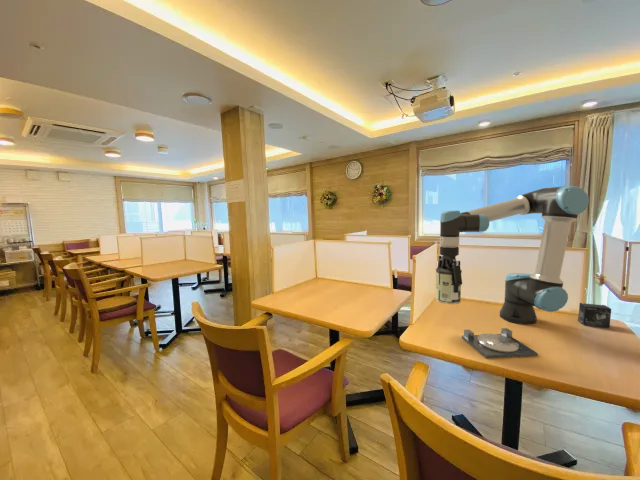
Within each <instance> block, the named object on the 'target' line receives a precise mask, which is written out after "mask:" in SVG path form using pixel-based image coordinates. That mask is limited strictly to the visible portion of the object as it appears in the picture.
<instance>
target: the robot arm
mask: <svg viewBox="0 0 640 480" xmlns="http://www.w3.org/2000/svg"><path fill="white" fill-rule="evenodd" d="M589 202H590V200H589V195H588V193H587V192H586V191H585V190H584V189H583V187H582V188H581V187H580V186H575V185H562V186H555V187H544V188H540V189H537V190H533V191H530V192H527V193H524V194H519V195H517V196H516V197H514V198H513V199H510V200H506V201H502V202H498V203H494V204H490V205H486V206H483V207H478V208H475V209H474V208H473V209H470V210H468V211H464V212H461V211H459V210H442V211H441V213H440V221H439V222H440V223H439V224H440V228H439V229H440V231H439V232H440V234H439V235H440V236H439V237H440V238H439V245H440V246H439V256H438V261H437V268H442V269H448V270H449V271H450V272H454V275H452V284H451V300H458V288H459V285H461V286H462V285H463V279H462V272H461V270H462V269H461V261H460V260H457V256H459V254H460V247H459V246H460V233H481V232H485V231H487V230H488V229H489V227H490V222H493V221H498V220H501V219H505V218H508V217H509V218H510V217H513V216H516V215H521V216H524V215H525V216H526V215H530V214H541V218H542V219H543V220H544V225H543V230H542V235H541V240H540V243H539V244H540V245H539V250H538V254H537V260H536V265H535V271H534V273H533V274H532V273H521V272H520V273H519V272H517V273H516V272H513V273H512V272H511V273H507V274H506V276H505V280H504V282H505V284H504V287H505V289H504V302H503V304H502V306H501V309H500V310H499V318H501V319H503V320H504V321H507V322H510V323H514V324H520V325H536V324H537V321H538V317H537V313H536V311H535V308H536V309H538V310H542V311H545V312H550V313H551V312H557V311H559V310H560V309H562V308H564V307H565V306H566V304H567V303H568V300H569V295H568V292H567V291H566V289H564V288H563V287H564V281H563V280H562V279H561V274H562V269H563V268H562V267H563V265H564V258H565V254H566V249H567V245H568V240H569V235H570V231H571V225H572V223H574V222H575V221H577V220H578V216H579V215H580V214H582V213H583V212H584V211H586V210H587V209H588V206H589Z"/></svg>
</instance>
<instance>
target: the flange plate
mask: <svg viewBox="0 0 640 480" xmlns="http://www.w3.org/2000/svg"><path fill="white" fill-rule="evenodd" d="M500 331H501V332H500V333H487V332H486V333H482V334H480V333H479V334H475V333H474V332H473V331H472V330H470V329H464V330H463V335H461V339H462V340H464V341H465V342H466V343H467V344H468V345H469V346H470V347H472V348H473V349H474V350H476V351H477V352H478V353H479V354H480V355H482V357H484V358H485V359H499V358H502V359H505V358H523V357H525V358H526V357H538V354H539V353H538V352H537V351H535V350H534V349H532V348H530V347H529V346H527V345H526V344H524V343H522V342H521V341H519V340H517V338H514V337H513V330H511V329H509V328H508V327H504V328H501V330H500Z"/></svg>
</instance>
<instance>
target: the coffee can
mask: <svg viewBox="0 0 640 480" xmlns="http://www.w3.org/2000/svg"><path fill="white" fill-rule="evenodd" d="M462 271H463V270H462V269H461V273H462ZM435 273H436V274H435V301H437V302H438V303H441V304H446V305H458V304H460V303H461V302H462V301H461V300H462V299H461V298H462V297H461V295H462V293H461V292H462V285H459V288H458V300H451V284H452V275H454V272H450V271H449V270H448V269H442V268H436V269H435Z"/></svg>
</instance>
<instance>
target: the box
mask: <svg viewBox="0 0 640 480" xmlns="http://www.w3.org/2000/svg"><path fill="white" fill-rule="evenodd" d="M578 306H579V309H578V318H577V322H579V323H580V324H581V325H582V326H587V327H594V328H595V327H596V328H605V329H610V325H611V316H612V308H610V306H608V305H605V304H593V303H584V302H579V305H578Z"/></svg>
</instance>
